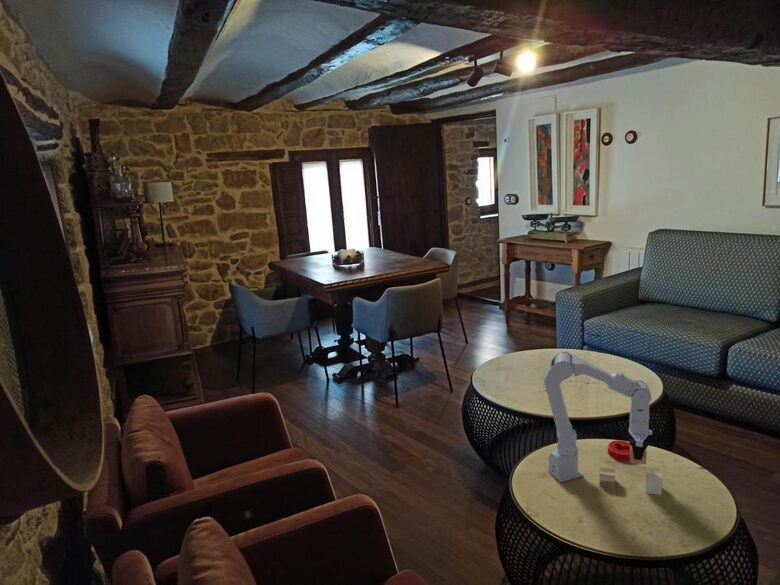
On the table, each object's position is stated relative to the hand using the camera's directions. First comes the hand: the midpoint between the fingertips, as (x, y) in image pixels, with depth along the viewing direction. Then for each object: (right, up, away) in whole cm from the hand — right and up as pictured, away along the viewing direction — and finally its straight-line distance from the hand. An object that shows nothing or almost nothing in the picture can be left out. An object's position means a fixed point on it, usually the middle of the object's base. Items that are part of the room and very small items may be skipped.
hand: (637, 454), depth 180 cm
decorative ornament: (+3, -6, +19) cm, 20 cm away
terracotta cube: (0, -2, 0) cm, 2 cm away
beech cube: (-9, -10, +3) cm, 14 cm away
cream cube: (+4, -11, -3) cm, 12 cm away
